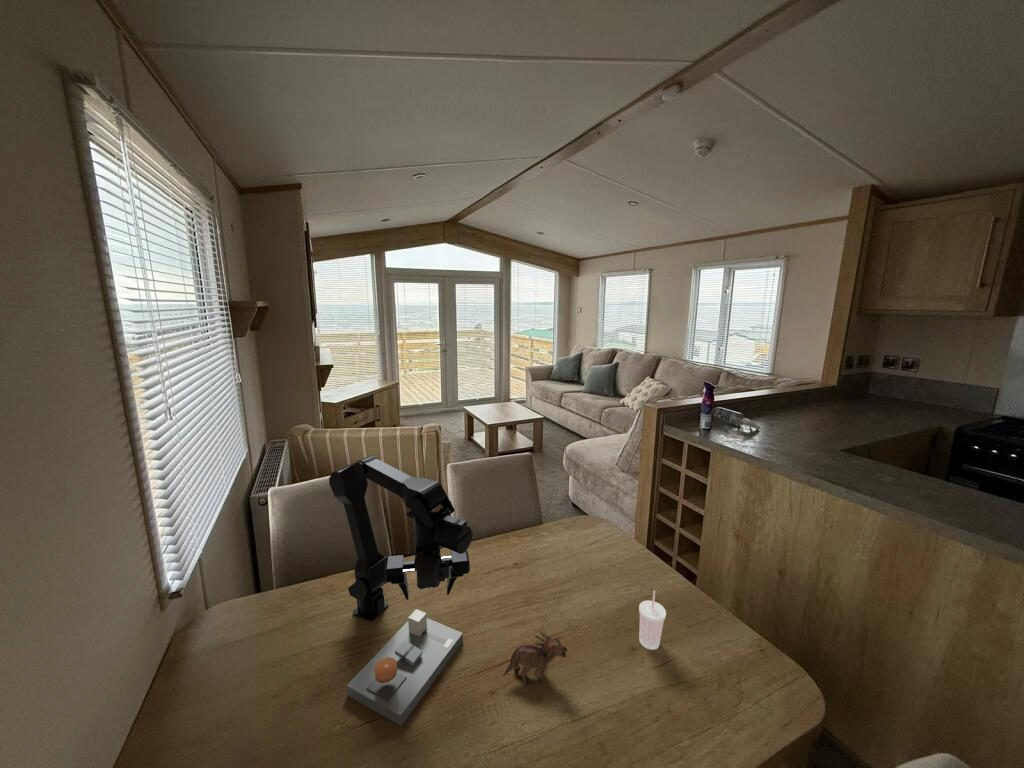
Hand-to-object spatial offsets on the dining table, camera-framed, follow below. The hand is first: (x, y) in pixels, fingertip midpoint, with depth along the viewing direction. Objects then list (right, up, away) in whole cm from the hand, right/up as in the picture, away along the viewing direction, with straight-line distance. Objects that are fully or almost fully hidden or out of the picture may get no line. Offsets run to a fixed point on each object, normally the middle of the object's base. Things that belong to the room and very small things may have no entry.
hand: (427, 596), depth 97 cm
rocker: (-3, -10, -5) cm, 11 cm away
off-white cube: (-3, -9, +2) cm, 10 cm away
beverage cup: (+53, -13, +3) cm, 54 cm away
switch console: (-3, -13, -5) cm, 14 cm away
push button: (-6, -11, -12) cm, 17 cm away
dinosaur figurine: (+24, -14, -5) cm, 28 cm away
